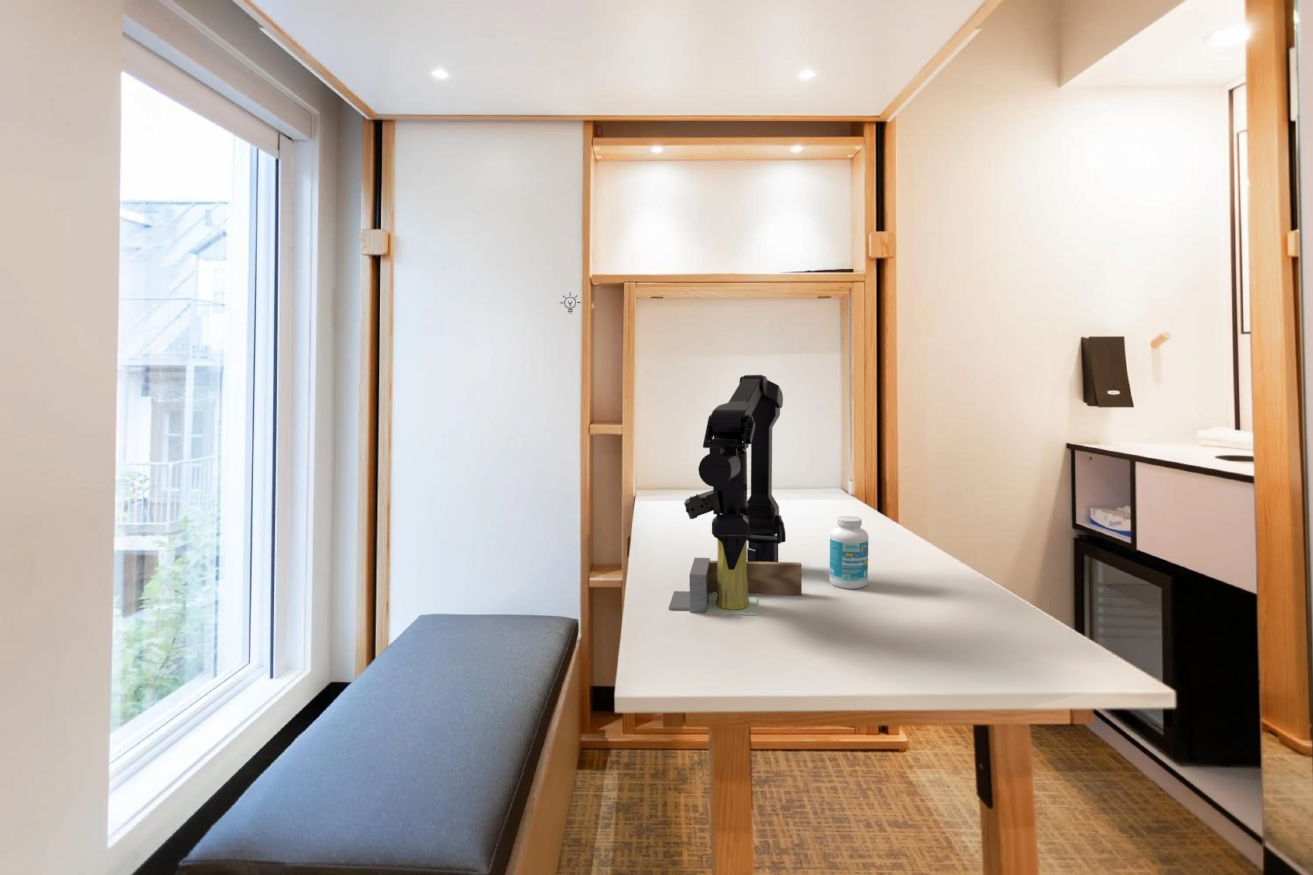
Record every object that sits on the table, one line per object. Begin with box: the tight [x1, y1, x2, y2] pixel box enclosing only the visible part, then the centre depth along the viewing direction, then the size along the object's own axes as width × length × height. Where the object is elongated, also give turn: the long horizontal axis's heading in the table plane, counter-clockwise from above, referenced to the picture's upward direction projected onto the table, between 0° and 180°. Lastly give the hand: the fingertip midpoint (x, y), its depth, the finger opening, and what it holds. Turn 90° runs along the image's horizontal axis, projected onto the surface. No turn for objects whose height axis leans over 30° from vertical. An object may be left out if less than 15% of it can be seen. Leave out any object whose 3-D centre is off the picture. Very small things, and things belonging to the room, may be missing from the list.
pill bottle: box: [828, 515, 869, 590], centre depth 133 cm, size 8×7×14 cm
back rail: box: [710, 560, 803, 596], centre depth 130 cm, size 20×2×6 cm, turn 82°
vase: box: [716, 539, 750, 610], centre depth 122 cm, size 6×6×14 cm
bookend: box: [668, 557, 711, 614], centre depth 125 cm, size 7×11×7 cm, turn 172°
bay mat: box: [705, 595, 758, 616], centre depth 123 cm, size 9×9×1 cm
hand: (732, 561), depth 122 cm, fingers open, 9 cm apart
